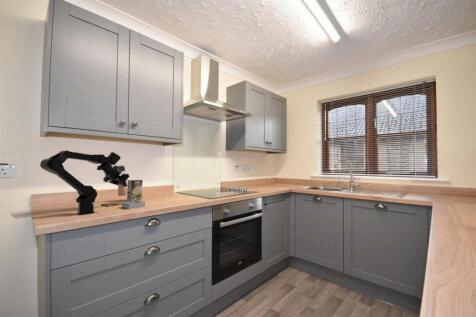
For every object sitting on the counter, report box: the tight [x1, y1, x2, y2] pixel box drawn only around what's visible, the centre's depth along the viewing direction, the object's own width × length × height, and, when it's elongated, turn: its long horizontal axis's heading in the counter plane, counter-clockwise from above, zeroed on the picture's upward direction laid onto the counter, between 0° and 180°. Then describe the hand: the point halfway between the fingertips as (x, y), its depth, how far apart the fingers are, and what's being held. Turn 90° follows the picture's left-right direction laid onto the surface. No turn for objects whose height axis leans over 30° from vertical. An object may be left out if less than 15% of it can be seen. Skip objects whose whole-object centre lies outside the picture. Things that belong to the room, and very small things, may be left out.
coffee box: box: [126, 179, 143, 202], centre depth 174 cm, size 9×6×16 cm
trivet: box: [100, 201, 122, 208], centre depth 151 cm, size 12×12×2 cm
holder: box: [121, 200, 146, 210], centre depth 141 cm, size 10×10×4 cm
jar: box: [117, 179, 128, 197], centre depth 150 cm, size 6×6×13 cm
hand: (124, 186), depth 151 cm, fingers closed on jar, 5 cm apart
